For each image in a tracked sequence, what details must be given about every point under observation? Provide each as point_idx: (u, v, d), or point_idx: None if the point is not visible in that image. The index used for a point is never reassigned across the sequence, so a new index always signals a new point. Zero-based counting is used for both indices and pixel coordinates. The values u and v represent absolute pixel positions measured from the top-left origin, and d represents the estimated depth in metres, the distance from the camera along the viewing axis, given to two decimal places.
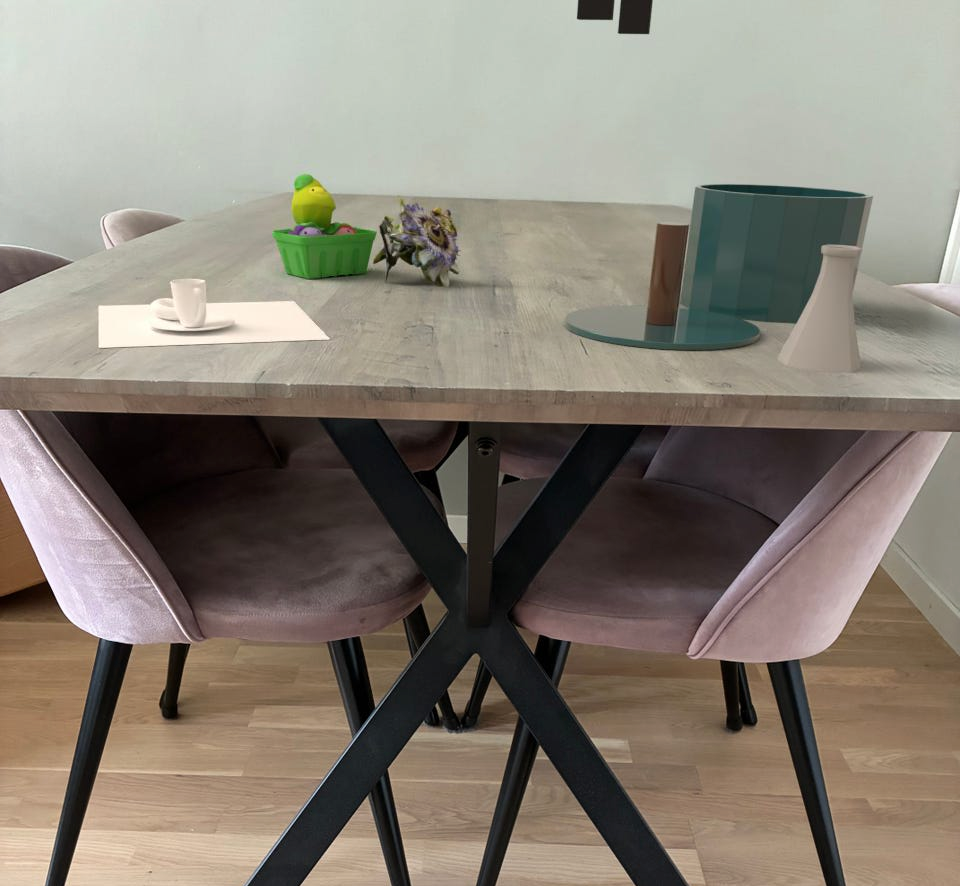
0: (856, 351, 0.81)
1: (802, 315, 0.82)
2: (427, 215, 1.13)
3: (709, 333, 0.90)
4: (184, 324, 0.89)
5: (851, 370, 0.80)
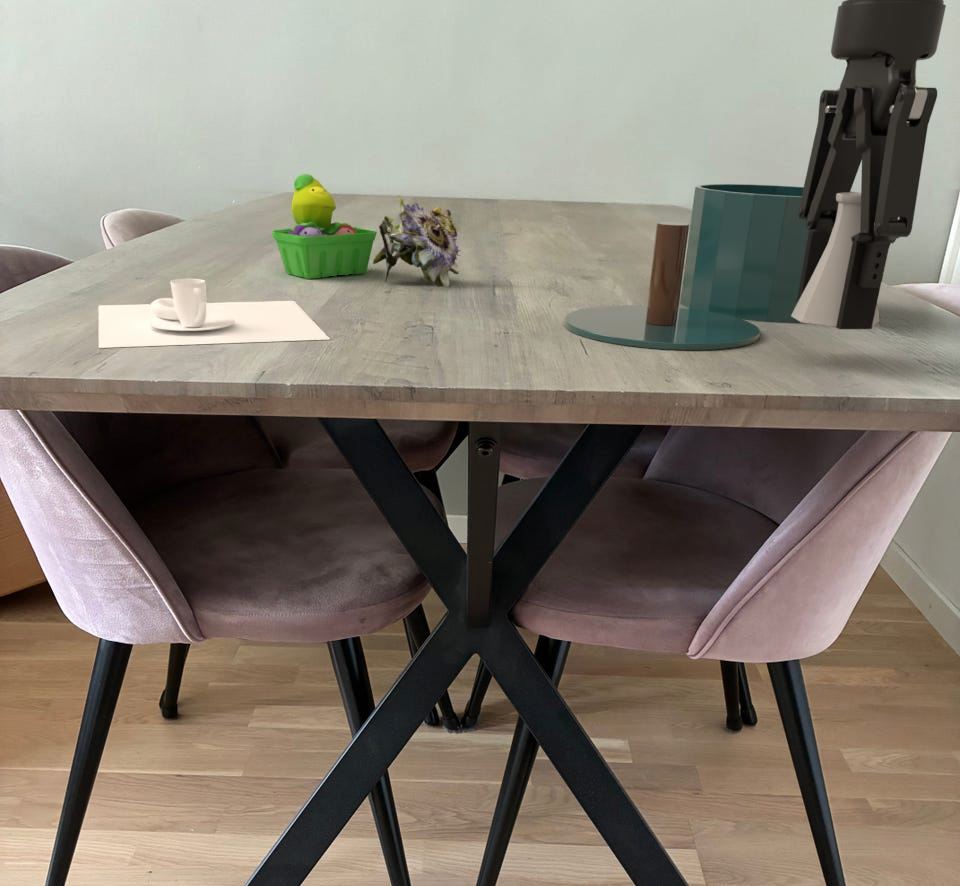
0: None
1: (818, 266, 0.80)
2: (427, 215, 1.13)
3: (709, 333, 0.90)
4: (184, 324, 0.89)
5: None
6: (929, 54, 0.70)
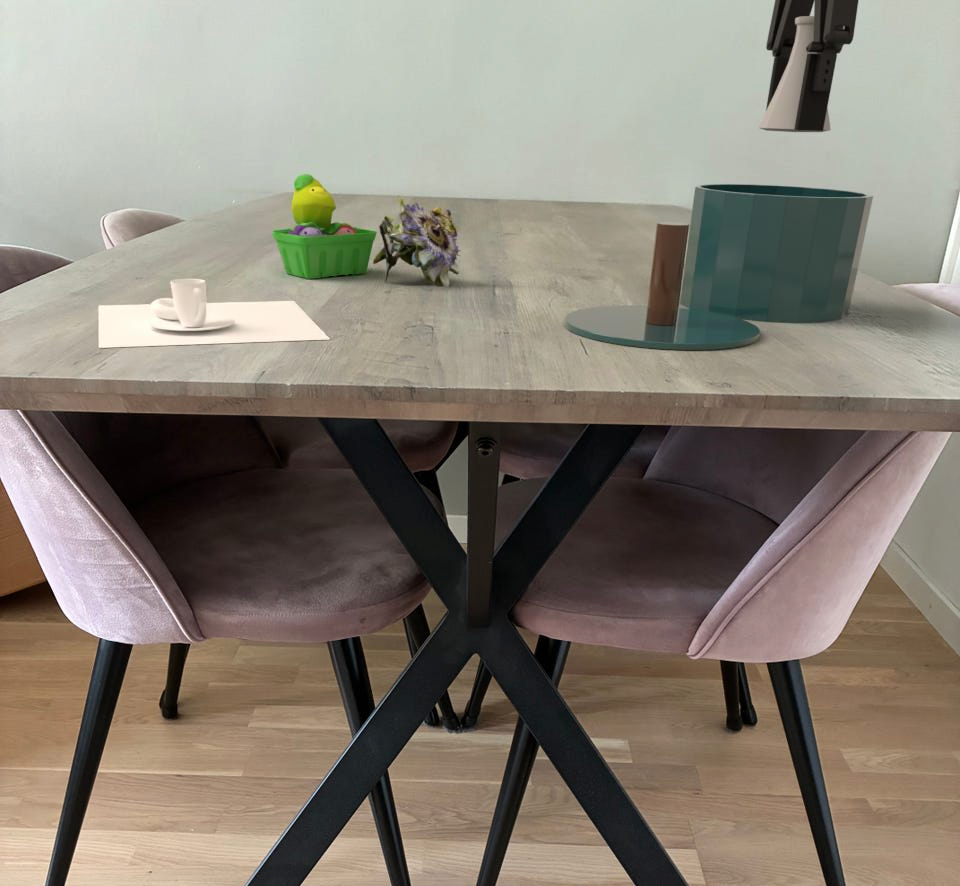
0: None
1: (780, 82, 0.97)
2: (427, 215, 1.13)
3: (709, 333, 0.90)
4: (184, 324, 0.89)
5: None
6: None
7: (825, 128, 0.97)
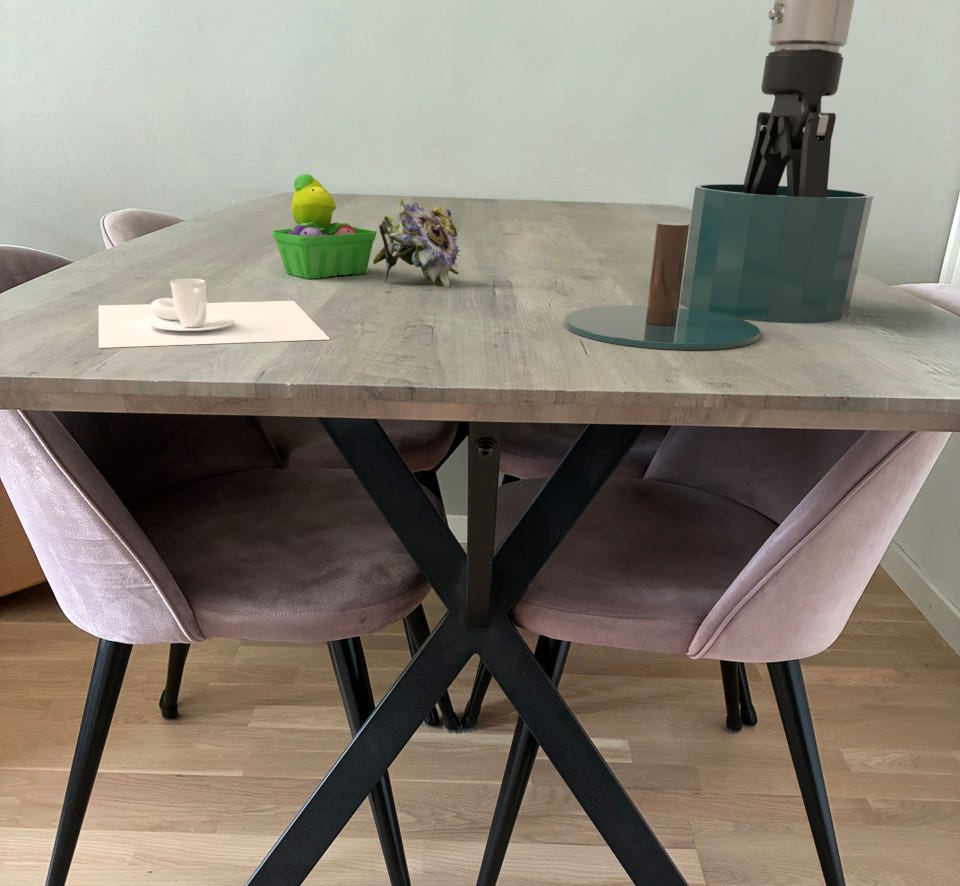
0: None
1: None
2: (427, 215, 1.13)
3: (709, 333, 0.90)
4: (184, 324, 0.89)
5: None
6: (831, 92, 0.95)
7: None
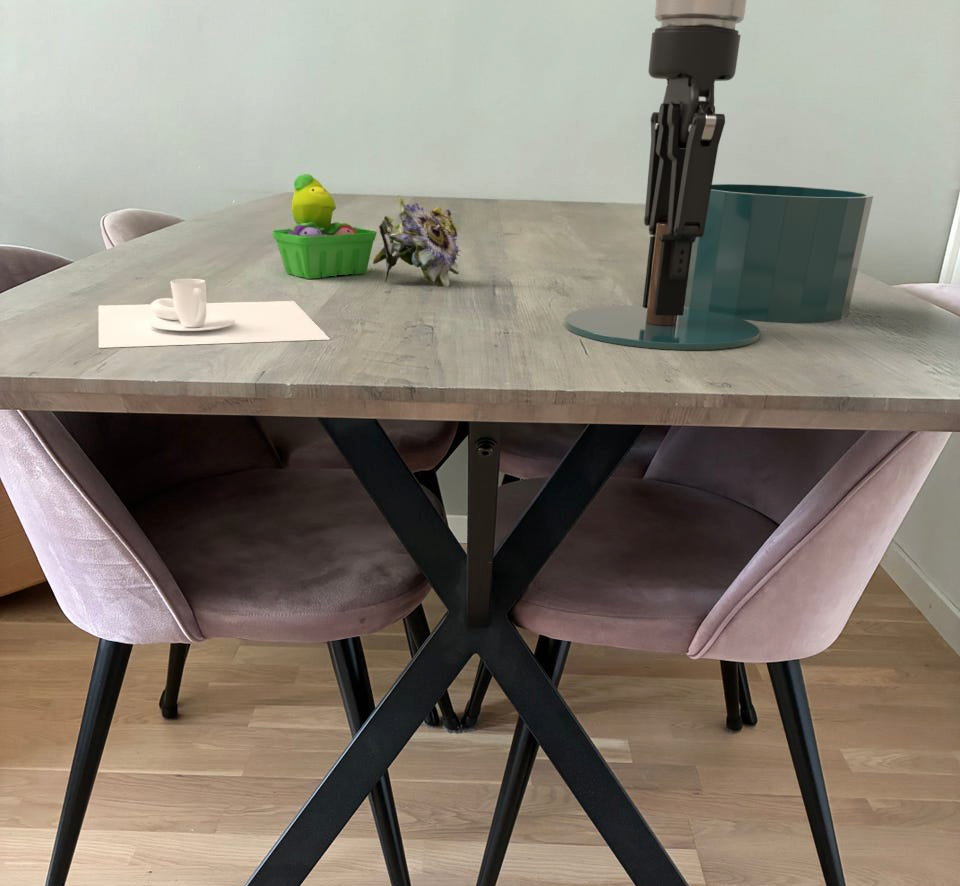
0: None
1: None
2: (427, 215, 1.13)
3: (709, 333, 0.90)
4: (184, 324, 0.89)
5: None
6: (726, 76, 0.81)
7: None
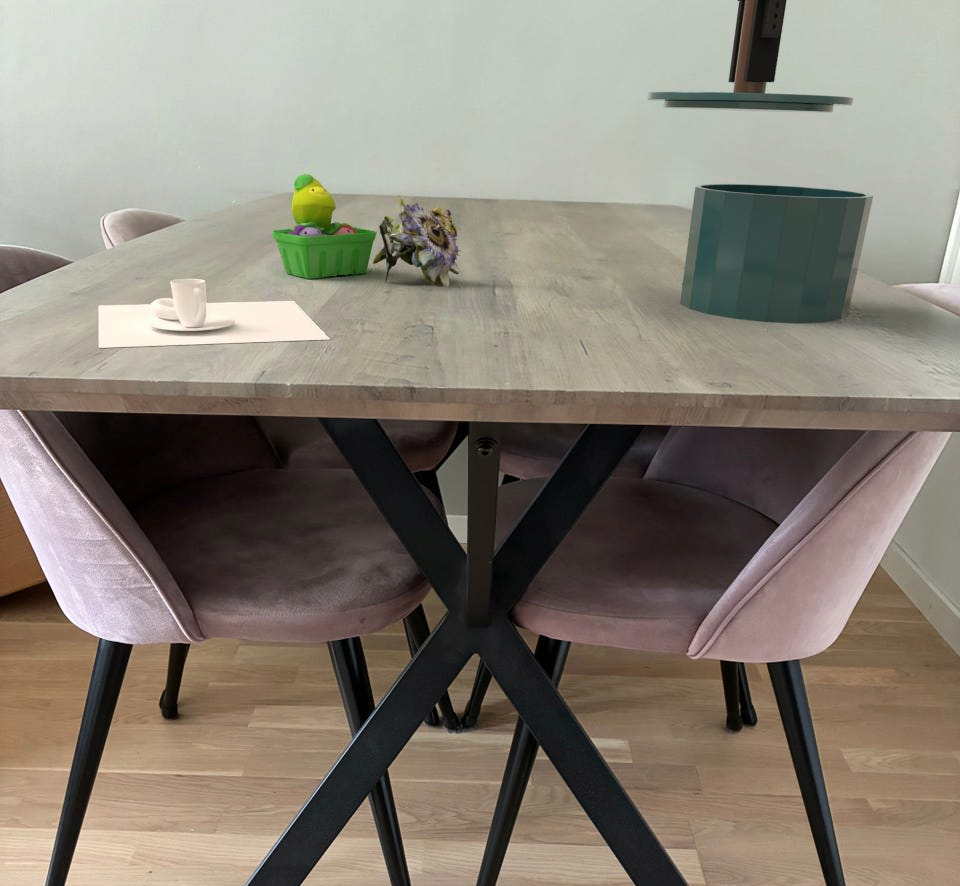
0: None
1: None
2: (427, 215, 1.13)
3: None
4: (184, 324, 0.89)
5: None
6: None
7: None
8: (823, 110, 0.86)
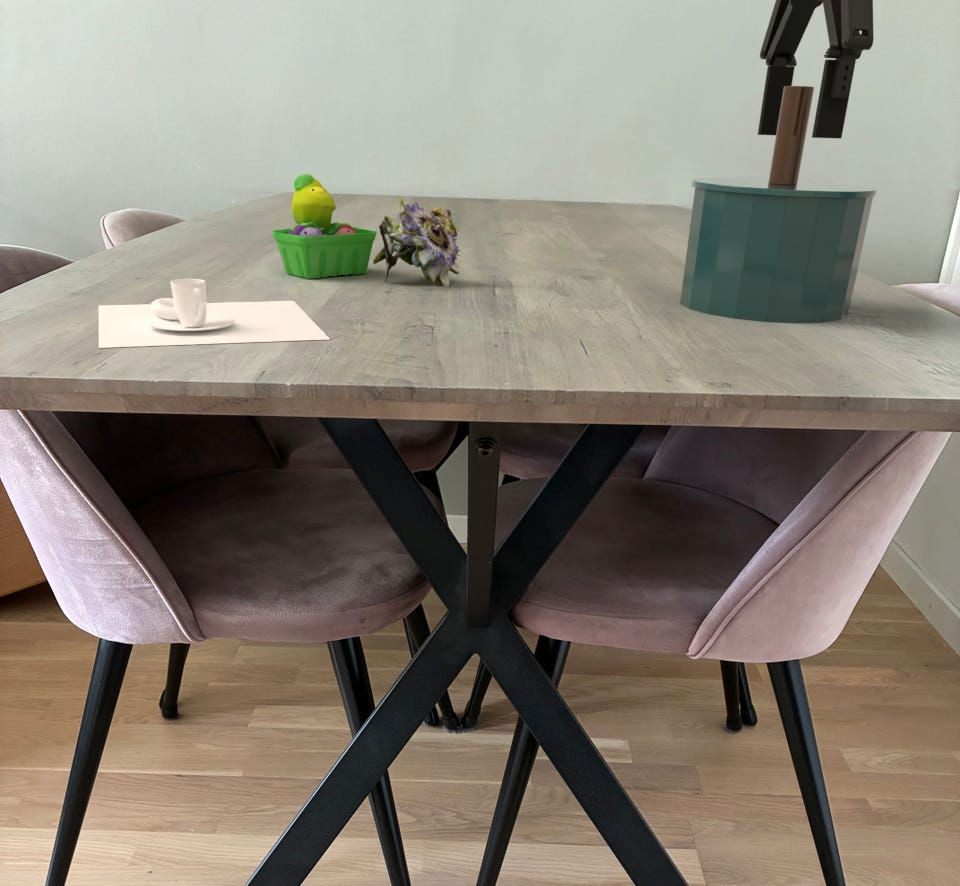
0: None
1: None
2: (427, 215, 1.13)
3: (832, 188, 0.97)
4: (184, 324, 0.89)
5: None
6: None
7: None
8: None
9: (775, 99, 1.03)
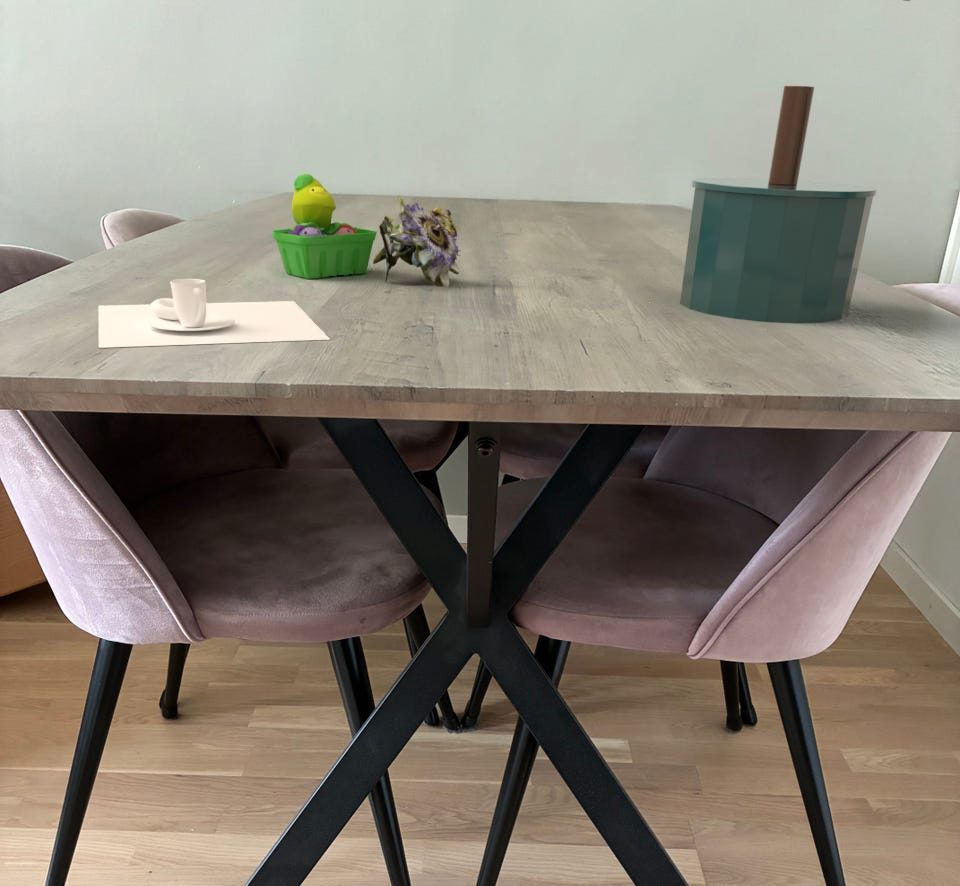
0: None
1: None
2: (427, 215, 1.13)
3: (832, 188, 0.97)
4: (184, 324, 0.89)
5: None
6: None
7: None
8: None
9: None
